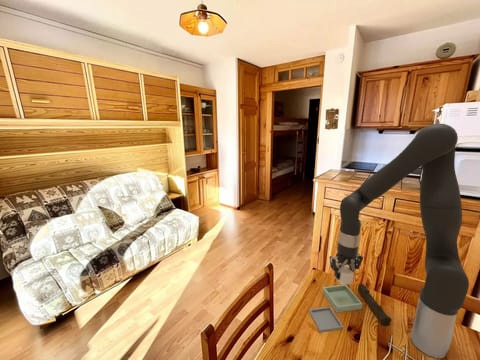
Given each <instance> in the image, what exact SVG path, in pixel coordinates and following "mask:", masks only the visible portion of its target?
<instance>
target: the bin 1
mask: <svg viewBox="0 0 480 360" xmlns="http://www.w3.org/2000/svg"><path fill="white" fill-rule="evenodd" d="M331 307H332V306H325V307H324V306H323V307H317V308H309V309H308V312H309V315H310V316H311V319H312V320H313V322H314V324H315V326H316V327H317V330H318V331H319V333H324V332H325V333H326V332H332V331H339V330H343V329H344V326H343V324H342V322H341V321H340V320H339V318H338V316H337V314H335V312H334V310H333V309H332V308H331Z"/></svg>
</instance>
